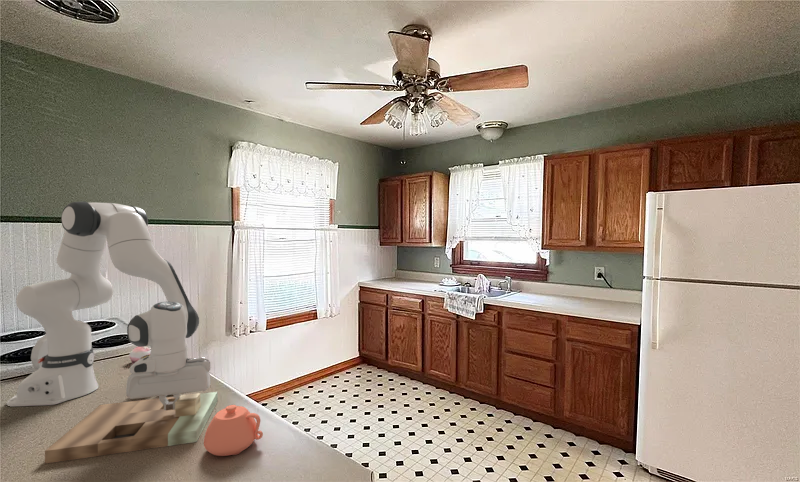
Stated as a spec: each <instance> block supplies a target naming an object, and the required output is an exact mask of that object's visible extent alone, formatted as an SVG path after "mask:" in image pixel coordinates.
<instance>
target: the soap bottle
mask: <svg viewBox="0 0 800 482" xmlns="http://www.w3.org/2000/svg"><path fill="white" fill-rule="evenodd" d="M31 349H32V350H31V354H30V361H31V363H32V367H34V368H35V370H38V369H39V368H40V367H42V362H40V363H38V362H39V361H40V360H39V359H41V358H42V357H44V356H46V355H48V346H47V337H46V334H44V335H43V336H41V337H40V338H39V339H38V340H37V341H36V343H35V344H34V345H33V347H32V348H31Z"/></svg>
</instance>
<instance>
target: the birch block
mask: <svg viewBox="0 0 800 482" xmlns="http://www.w3.org/2000/svg"><path fill="white" fill-rule="evenodd" d="M200 394H201V392H194V393H185V394H181V396H180V397H179V399H178V400H177V401H176V402H175V417H180V416H188V415H196V413H197V411H198V410H199V408H200V407H201V403H200Z"/></svg>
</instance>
